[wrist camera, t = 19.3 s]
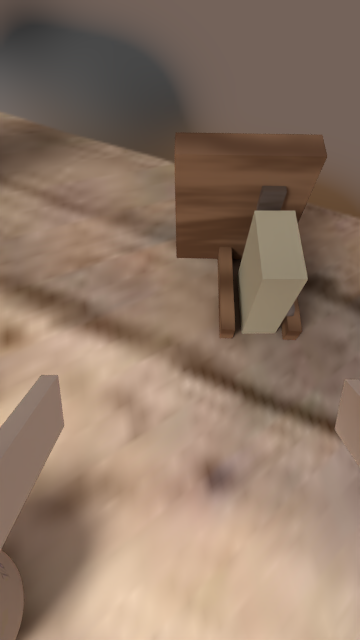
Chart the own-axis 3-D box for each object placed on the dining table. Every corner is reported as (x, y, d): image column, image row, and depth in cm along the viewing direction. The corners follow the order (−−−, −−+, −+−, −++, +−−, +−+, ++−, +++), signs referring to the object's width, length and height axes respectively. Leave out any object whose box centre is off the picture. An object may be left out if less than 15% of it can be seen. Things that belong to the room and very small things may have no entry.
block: (284, 333, 41) (320, 279, 31) (241, 333, 41) (262, 279, 31) (276, 277, 45) (306, 210, 34) (237, 276, 45) (254, 210, 34)
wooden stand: (295, 339, 41) (357, 260, 27) (173, 336, 41) (169, 256, 27) (283, 241, 47) (327, 134, 33) (177, 239, 48) (175, 132, 33)
